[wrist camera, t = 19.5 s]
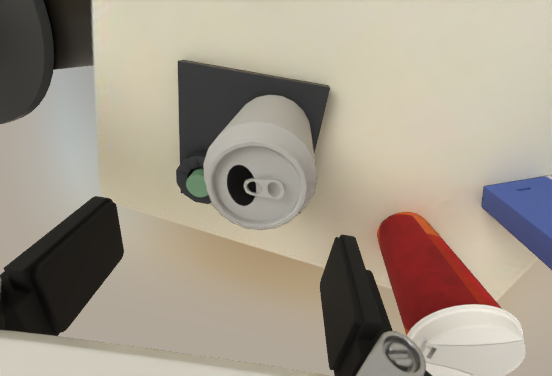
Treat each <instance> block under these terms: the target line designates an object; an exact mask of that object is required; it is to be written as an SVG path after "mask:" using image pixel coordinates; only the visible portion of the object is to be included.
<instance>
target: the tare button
mask: <svg viewBox="0 0 552 376" xmlns="http://www.w3.org/2000/svg"><path fill="white" fill-rule="evenodd" d="M186 187H187V189H188V191H189V192H190V193H191V194H192V195H194V196H196V197H205V196H207V195H208V192H207V186H206V183H205V181H204V169H196V170H195V171H193V173H192V174H191V175H190V176H189V178H188V179H187V181H186Z"/></svg>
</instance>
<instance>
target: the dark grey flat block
mask: <svg viewBox="0 0 552 376" xmlns="http://www.w3.org/2000/svg"><path fill="white" fill-rule="evenodd" d="M178 89H179V135H180V166H179V167H178V168H177V170H176V176H177V184H178V185H179V187H180V189H181V193H183V194H184V195H186V196H187V197H189V198H190V199H192V200H193V201H195V202H200V203H206V204H209V203H212V202H211V200H210V197H209V194H208V195H207V196H205V197H196V196H194V195H192V194H191V193H190V192H189V191H188V189H187V187H186V181H187V179H188V178H189V176H190V175H191V174H192V173H193V171H195V170H196V169H204V165H203V164H204V160H205V157H206V154H207V151H208V148H209V147H210V146H211V144H212V143H213V142H214V141H215V139H216V138H217V137H218V136H219V134H220V133H221V132H222V131H223V130H224V129H225V127H226V126H227V125H228V124H229V123H230V122H231V121H232V119H233V118H234V117H235V116H236V115H237V114H238V113H239V111H240V110H241V109H242V108H243V107H244V106H245V105H246V104H247V103H248V102H250V101H252V100H253V99H255V98H256V97H261V96H265V95H277V96H283V97H285V98H287V99H289V100H292V101H294V102H295V103H296V104H297V105H298V106H299V107H300V108H301V109H302V110H303V111H304V113H305V115H306V117H307V118H308V120H309V124H310V130H311V136H312V143H313V151H314V152H315V148H316V144H317V140H318V136H319V132H320V127H321V123H322V119H323V115H324V111H325V107H326V102H327V98H328V94H329V90H330V87H329V86H328V85H323V84H317V83H312V82H306V81H300V80H295V79H289V78H283V77H278V76H272V75H266V74H261V73H255V72H249V71H244V70H238V69H232V68H227V67H221V66H215V65H210V64H204V63H198V62H193V61H187V60H180V61H178ZM299 213H300V212H299Z"/></svg>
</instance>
